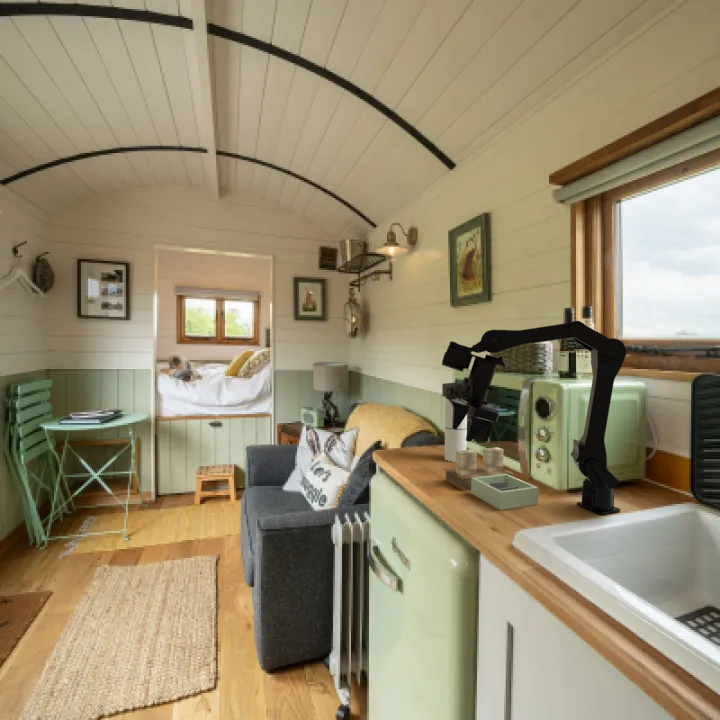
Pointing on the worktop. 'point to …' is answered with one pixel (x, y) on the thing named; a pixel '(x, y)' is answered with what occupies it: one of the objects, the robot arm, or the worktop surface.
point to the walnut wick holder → (470, 477)
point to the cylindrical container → (453, 434)
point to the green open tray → (504, 491)
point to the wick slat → (493, 459)
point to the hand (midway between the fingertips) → (460, 434)
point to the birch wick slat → (466, 462)
